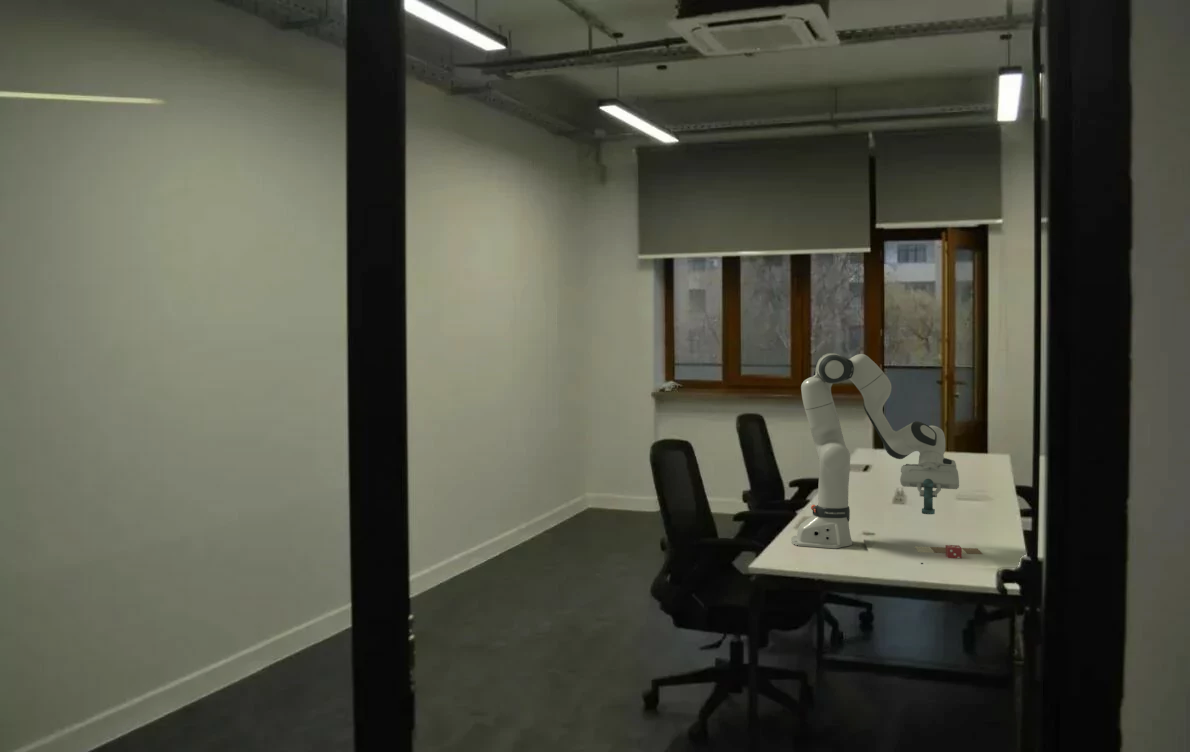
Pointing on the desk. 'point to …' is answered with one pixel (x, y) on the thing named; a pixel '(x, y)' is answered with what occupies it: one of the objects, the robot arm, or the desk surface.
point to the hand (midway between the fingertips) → (928, 495)
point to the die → (953, 551)
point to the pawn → (928, 497)
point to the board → (943, 550)
